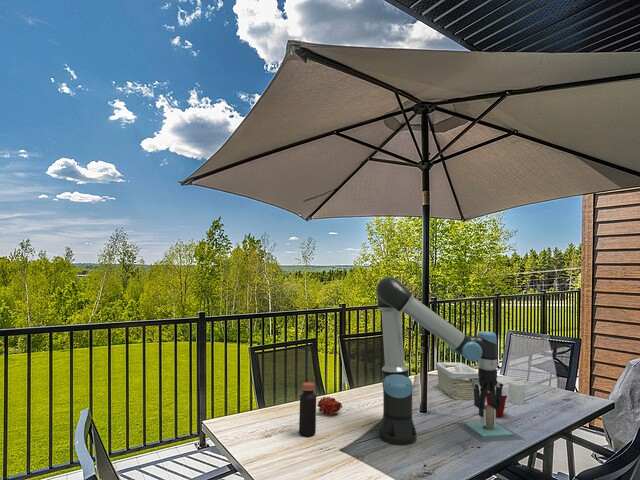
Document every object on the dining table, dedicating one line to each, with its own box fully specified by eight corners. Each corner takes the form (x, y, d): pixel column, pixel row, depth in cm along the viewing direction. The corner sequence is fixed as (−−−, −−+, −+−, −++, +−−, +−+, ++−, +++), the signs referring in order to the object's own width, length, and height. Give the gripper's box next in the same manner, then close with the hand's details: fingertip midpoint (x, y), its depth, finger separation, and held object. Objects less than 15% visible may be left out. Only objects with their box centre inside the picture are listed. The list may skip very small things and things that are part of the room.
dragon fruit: (315, 416, 185) (340, 420, 185) (317, 410, 178) (343, 415, 178) (317, 398, 190) (341, 402, 190) (319, 392, 184) (344, 396, 184)
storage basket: (481, 400, 209) (480, 372, 210) (451, 400, 208) (451, 372, 209) (462, 387, 233) (462, 362, 234) (435, 387, 232) (435, 361, 233)
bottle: (306, 429, 166) (307, 380, 168) (318, 433, 162) (319, 383, 163) (295, 434, 161) (296, 383, 162) (308, 438, 156) (309, 387, 158)
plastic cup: (511, 421, 180) (511, 394, 181) (486, 419, 182) (486, 392, 183) (505, 413, 190) (505, 387, 191) (481, 411, 192) (481, 386, 193)
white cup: (526, 401, 208) (525, 382, 209) (524, 405, 202) (524, 386, 202) (509, 398, 212) (509, 380, 213) (507, 402, 206) (507, 383, 207)
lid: (483, 438, 159) (482, 413, 160) (464, 425, 173) (464, 401, 174) (513, 436, 162) (513, 411, 163) (492, 423, 176) (492, 400, 177)
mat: (480, 443, 156) (480, 442, 156) (454, 423, 176) (454, 422, 176) (525, 440, 160) (525, 439, 160) (494, 421, 179) (494, 420, 179)
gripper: (474, 370, 164) (475, 428, 163) (510, 369, 168) (511, 426, 166) (464, 366, 172) (465, 421, 170) (499, 365, 175) (500, 419, 173)
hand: (488, 424), depth 168 cm, fingers closed on lid, 4 cm apart
